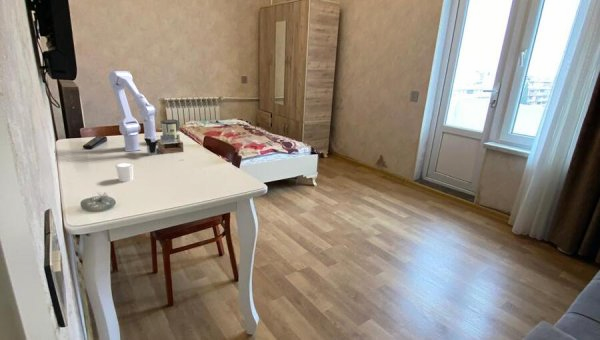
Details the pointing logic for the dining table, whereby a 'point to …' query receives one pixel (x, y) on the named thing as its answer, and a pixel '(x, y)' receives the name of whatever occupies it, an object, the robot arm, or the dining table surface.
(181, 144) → the frame
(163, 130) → the coffee can
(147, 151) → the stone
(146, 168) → the dining table surface
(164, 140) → the trapdoor
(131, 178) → the white cup
